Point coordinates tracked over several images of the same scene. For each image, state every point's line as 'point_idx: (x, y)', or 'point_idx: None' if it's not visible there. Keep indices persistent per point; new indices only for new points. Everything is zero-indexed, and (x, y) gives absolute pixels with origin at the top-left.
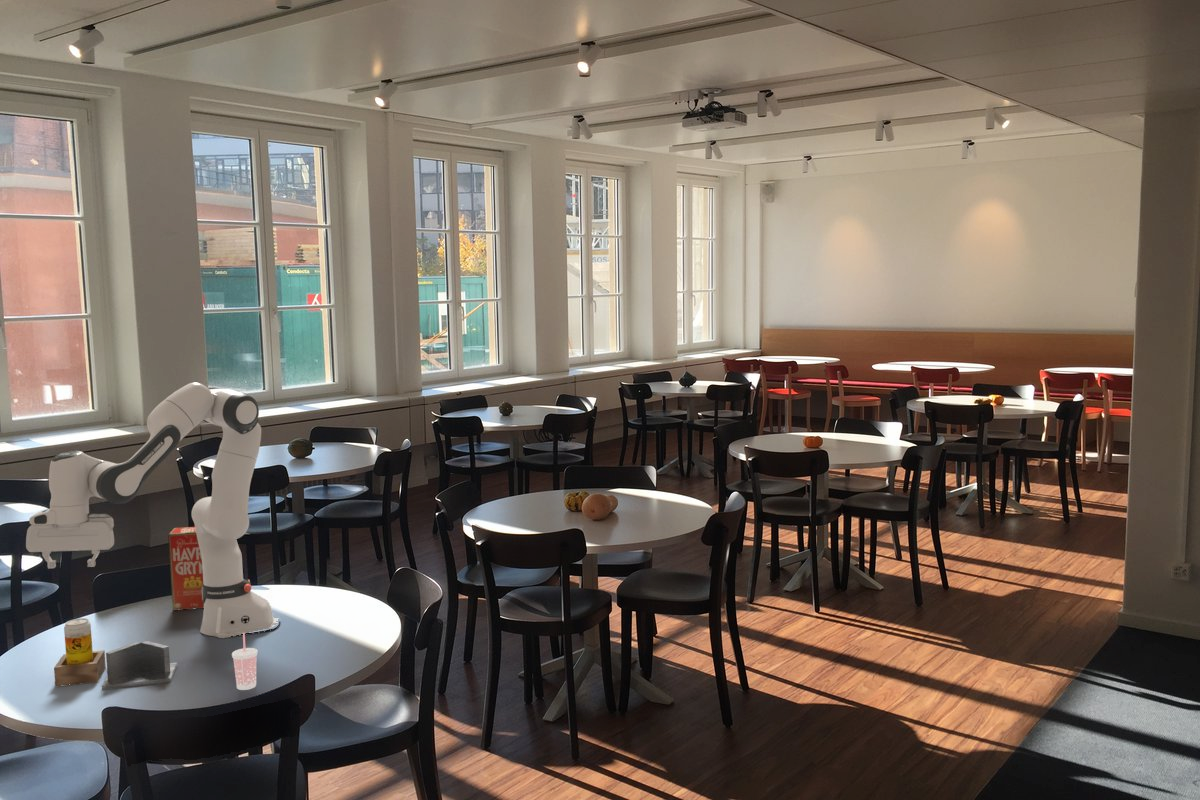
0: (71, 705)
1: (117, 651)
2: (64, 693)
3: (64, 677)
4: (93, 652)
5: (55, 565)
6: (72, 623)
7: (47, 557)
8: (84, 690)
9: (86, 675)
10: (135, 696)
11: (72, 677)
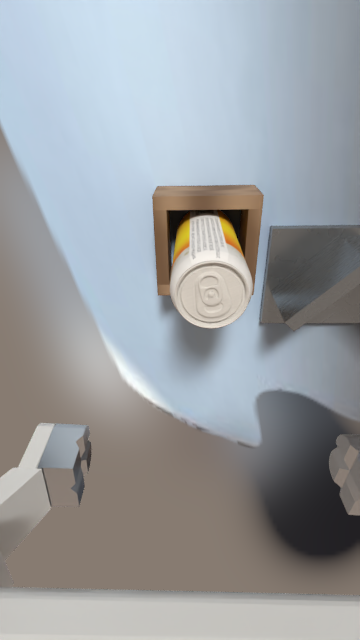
0: (215, 370)
1: (312, 317)
2: None
3: None
4: (234, 205)
5: (86, 441)
6: (198, 303)
7: (11, 545)
8: None
9: None
10: (321, 365)
11: None
